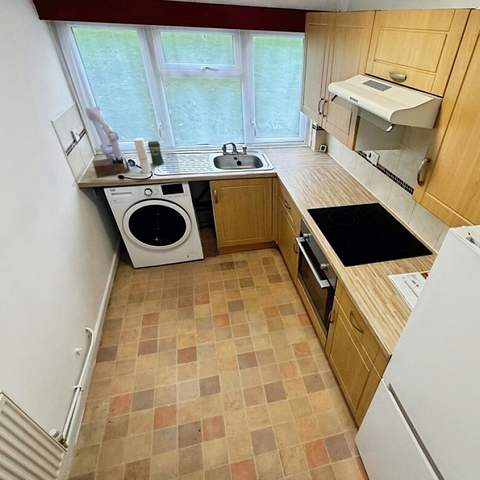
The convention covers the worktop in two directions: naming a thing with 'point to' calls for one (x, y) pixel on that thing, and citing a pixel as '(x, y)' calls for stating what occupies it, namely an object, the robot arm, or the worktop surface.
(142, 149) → the cylindrical container
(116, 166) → the drawer
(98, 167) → the cabinet
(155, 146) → the coffee jar
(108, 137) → the robot arm
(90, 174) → the worktop surface
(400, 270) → the worktop surface
